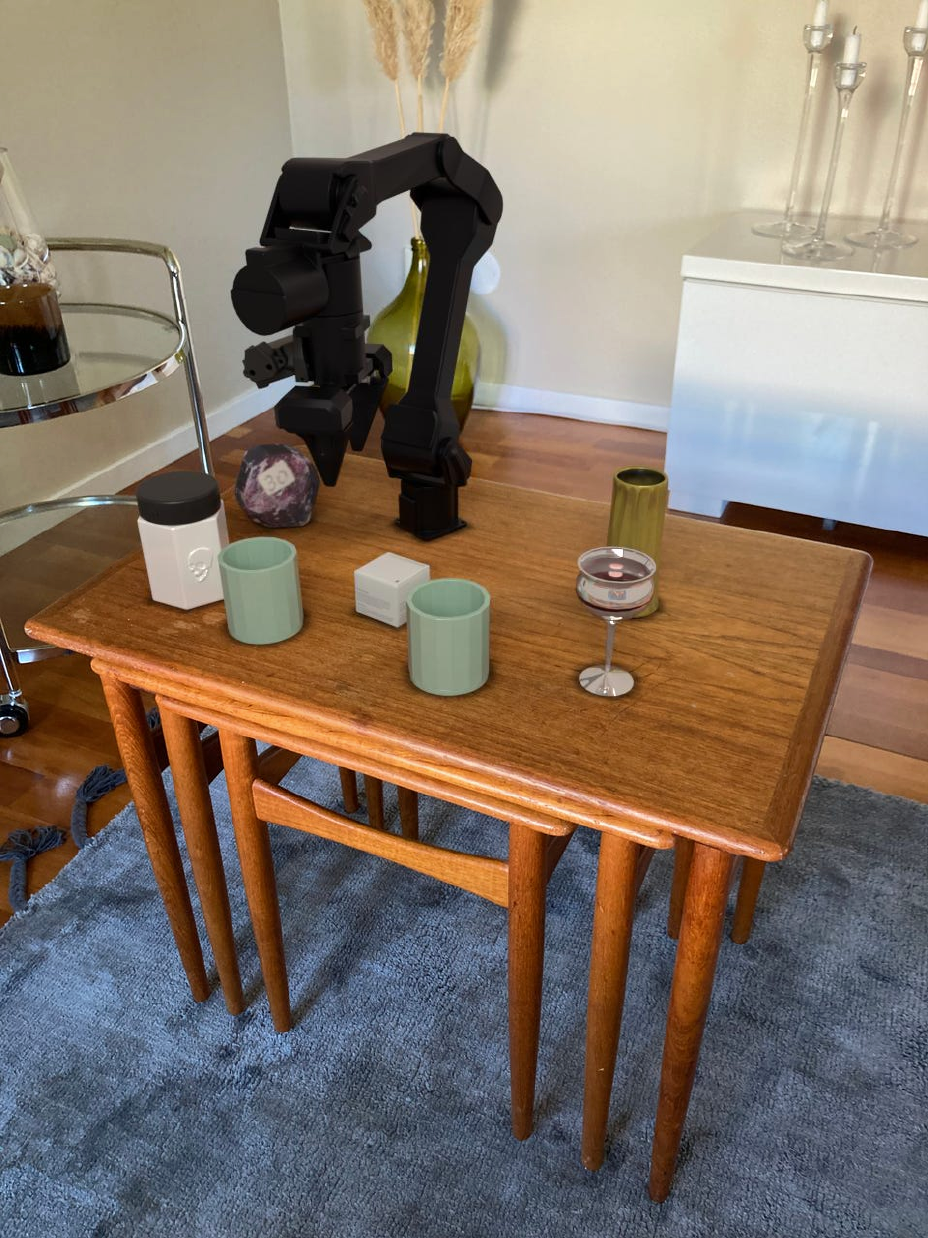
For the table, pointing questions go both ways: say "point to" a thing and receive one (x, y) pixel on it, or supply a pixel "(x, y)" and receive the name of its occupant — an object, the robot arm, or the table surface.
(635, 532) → the vase
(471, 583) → the cup
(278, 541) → the cup
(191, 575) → the jar
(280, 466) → the mineral specimen
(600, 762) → the table surface
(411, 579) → the small box
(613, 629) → the wineglass
